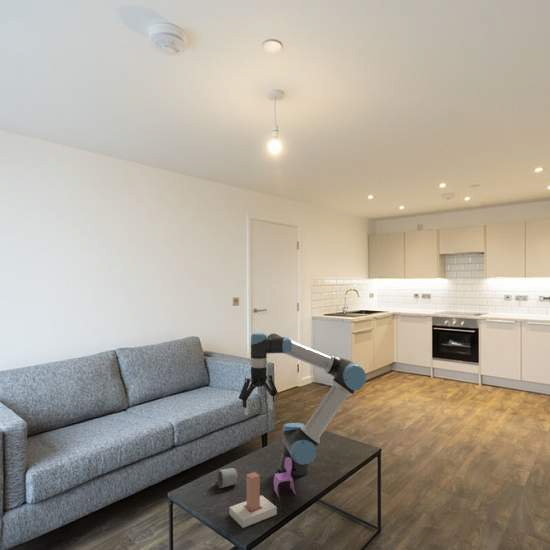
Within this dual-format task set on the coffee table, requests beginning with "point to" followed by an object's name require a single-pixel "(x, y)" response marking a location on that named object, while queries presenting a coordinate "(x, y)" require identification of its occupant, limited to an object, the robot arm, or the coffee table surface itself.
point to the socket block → (246, 517)
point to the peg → (252, 492)
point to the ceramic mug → (227, 477)
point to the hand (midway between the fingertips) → (258, 411)
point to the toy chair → (284, 476)
